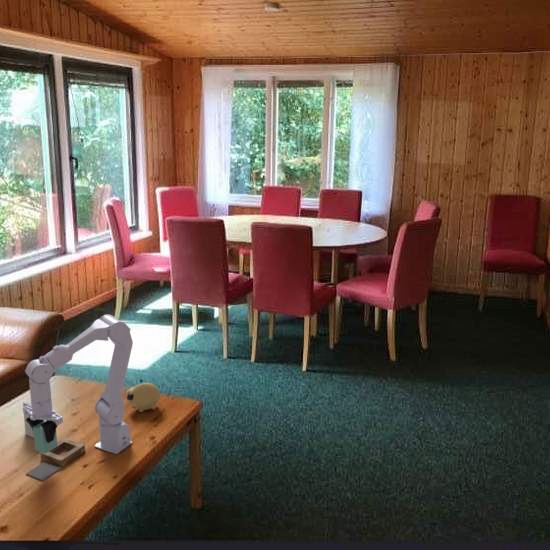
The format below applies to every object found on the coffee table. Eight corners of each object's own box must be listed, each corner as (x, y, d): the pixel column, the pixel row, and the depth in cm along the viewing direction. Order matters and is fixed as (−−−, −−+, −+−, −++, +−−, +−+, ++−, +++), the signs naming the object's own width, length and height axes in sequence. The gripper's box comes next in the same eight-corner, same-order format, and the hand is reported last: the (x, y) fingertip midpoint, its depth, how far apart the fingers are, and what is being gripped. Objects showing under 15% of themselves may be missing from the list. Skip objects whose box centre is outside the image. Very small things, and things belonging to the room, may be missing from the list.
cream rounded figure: (129, 402, 223) (128, 377, 221) (161, 402, 224) (160, 376, 221) (124, 416, 214) (123, 389, 211) (158, 415, 215) (157, 388, 212)
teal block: (57, 446, 182) (55, 422, 180) (44, 453, 178) (42, 430, 176) (48, 442, 184) (45, 419, 182) (35, 450, 180) (32, 426, 178)
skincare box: (24, 434, 201) (21, 402, 198) (35, 428, 205) (32, 397, 201) (37, 439, 198) (33, 407, 195) (47, 433, 202) (44, 401, 198)
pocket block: (85, 450, 192) (84, 445, 191) (61, 466, 183) (61, 460, 183) (64, 443, 196) (64, 437, 195) (40, 459, 187) (40, 452, 187)
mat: (60, 468, 182) (60, 467, 182) (42, 481, 176) (42, 480, 176) (44, 462, 185) (44, 461, 185) (26, 474, 179) (26, 473, 179)
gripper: (13, 398, 176) (17, 439, 180) (48, 410, 170) (52, 452, 173) (32, 389, 182) (35, 428, 186) (66, 400, 176) (70, 440, 179)
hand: (44, 439), depth 180 cm, fingers closed on teal block, 4 cm apart
